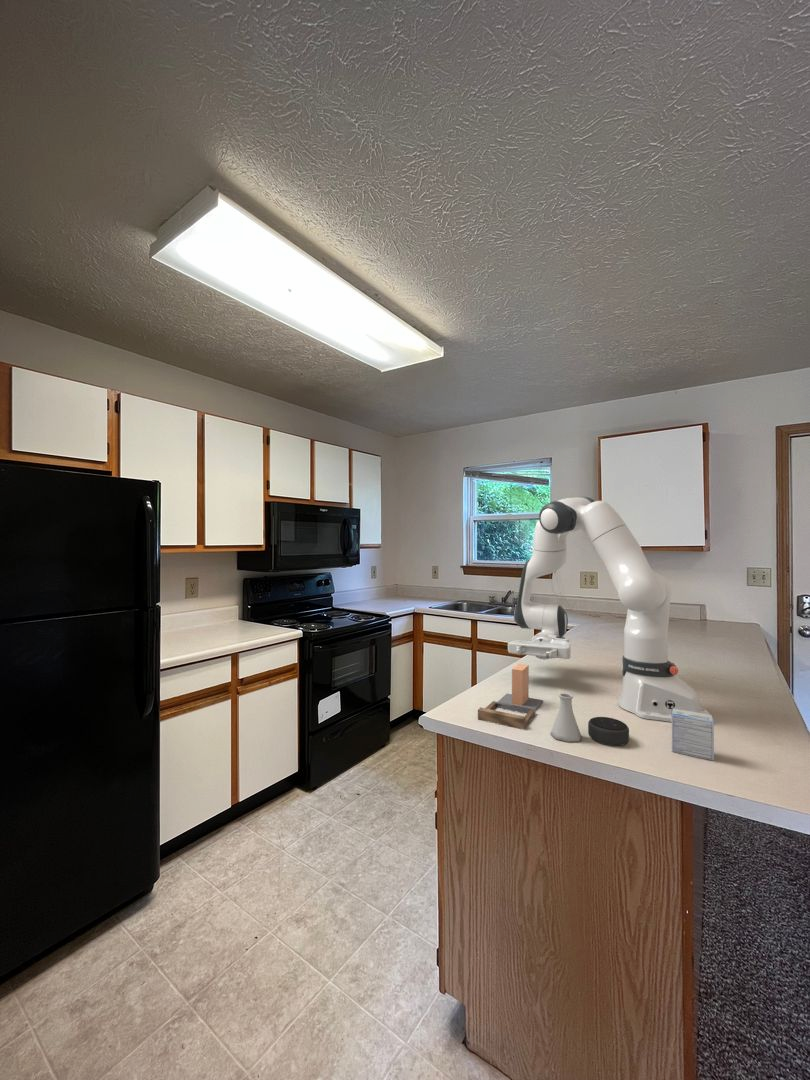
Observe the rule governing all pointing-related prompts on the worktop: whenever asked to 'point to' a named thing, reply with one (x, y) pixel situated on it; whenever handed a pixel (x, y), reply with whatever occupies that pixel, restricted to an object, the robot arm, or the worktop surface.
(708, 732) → the medicine box
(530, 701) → the mat
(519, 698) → the orange rectangular block
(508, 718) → the wooden square frame
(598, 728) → the smart speaker
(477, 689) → the worktop surface
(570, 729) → the flask
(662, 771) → the worktop surface
